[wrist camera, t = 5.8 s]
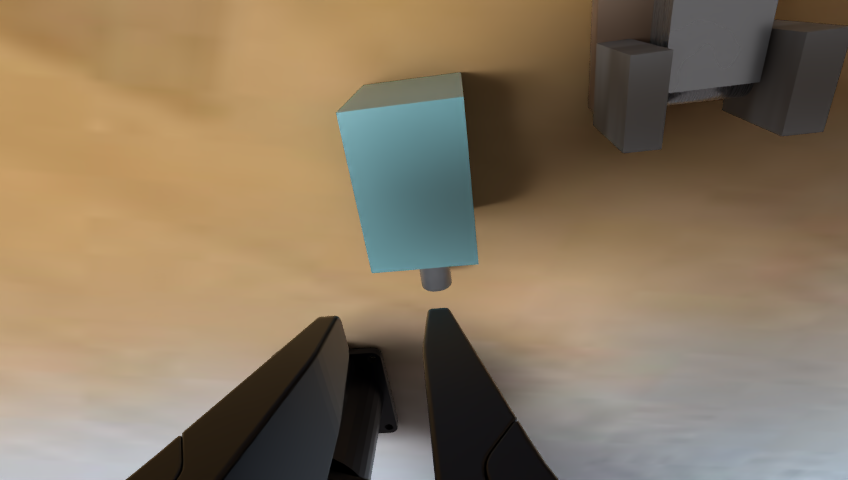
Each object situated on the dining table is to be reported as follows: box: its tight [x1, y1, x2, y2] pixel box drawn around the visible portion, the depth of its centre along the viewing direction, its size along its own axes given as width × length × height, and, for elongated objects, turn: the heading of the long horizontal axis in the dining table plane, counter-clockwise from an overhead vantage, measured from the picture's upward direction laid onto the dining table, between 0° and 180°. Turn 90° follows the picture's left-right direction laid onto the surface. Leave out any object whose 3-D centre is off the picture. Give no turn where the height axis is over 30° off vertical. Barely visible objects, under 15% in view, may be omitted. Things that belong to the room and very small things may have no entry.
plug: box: [336, 72, 478, 291], centre depth 18 cm, size 9×4×5 cm, turn 8°
